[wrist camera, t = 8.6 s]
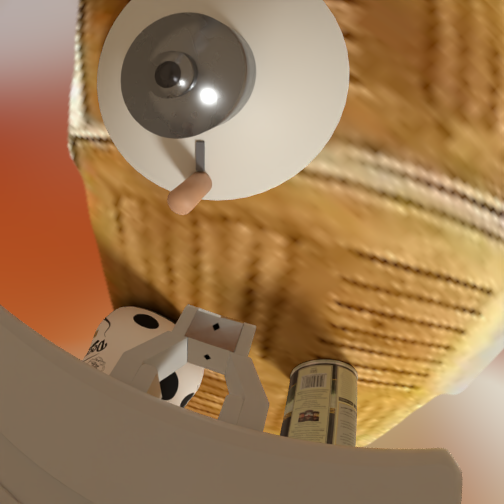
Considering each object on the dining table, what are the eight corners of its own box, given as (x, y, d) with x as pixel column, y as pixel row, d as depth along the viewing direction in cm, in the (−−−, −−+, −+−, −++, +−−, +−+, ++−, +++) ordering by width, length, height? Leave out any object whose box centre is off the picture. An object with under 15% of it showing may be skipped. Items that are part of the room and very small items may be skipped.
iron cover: (148, 28, 16) (112, 23, 12) (260, 19, 15) (243, 2, 11) (147, 129, 21) (113, 142, 17) (252, 133, 20) (235, 146, 16)
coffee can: (320, 399, 42) (310, 475, 31) (276, 374, 40) (256, 458, 29) (371, 378, 37) (370, 465, 25) (329, 349, 35) (319, 450, 23)
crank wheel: (116, -10, 15) (73, -19, 10) (353, -27, 12) (362, -58, 7) (117, 181, 27) (80, 206, 22) (326, 208, 24) (326, 245, 19)
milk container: (99, 286, 39) (30, 374, 24) (202, 307, 35) (140, 433, 21) (132, 355, 48) (89, 431, 34) (217, 378, 45) (183, 471, 30)
